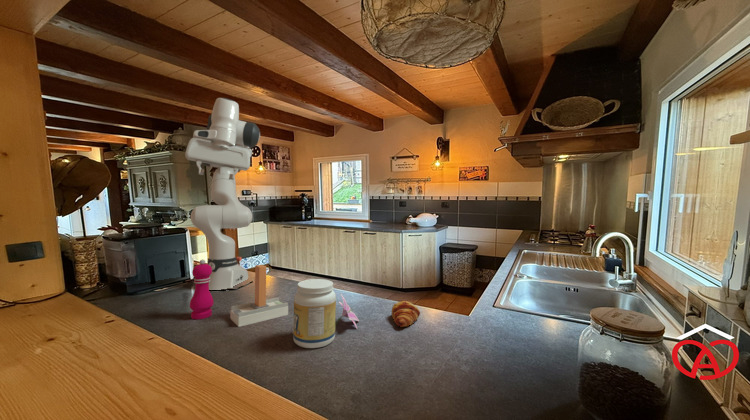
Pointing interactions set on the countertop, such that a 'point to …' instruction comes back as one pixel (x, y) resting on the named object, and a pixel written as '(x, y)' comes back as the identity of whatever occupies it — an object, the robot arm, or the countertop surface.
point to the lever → (260, 287)
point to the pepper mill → (201, 292)
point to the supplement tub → (314, 313)
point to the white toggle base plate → (258, 312)
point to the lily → (347, 312)
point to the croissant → (404, 313)
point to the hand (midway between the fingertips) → (216, 177)
